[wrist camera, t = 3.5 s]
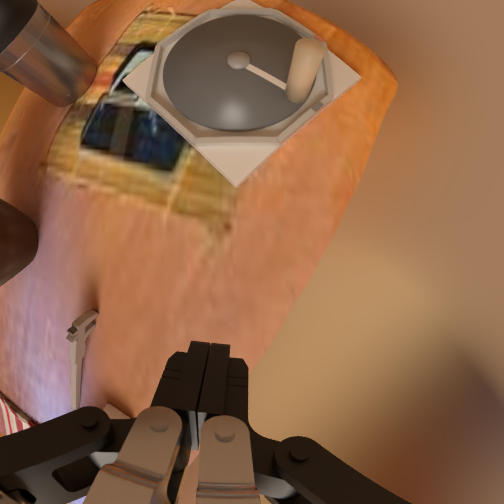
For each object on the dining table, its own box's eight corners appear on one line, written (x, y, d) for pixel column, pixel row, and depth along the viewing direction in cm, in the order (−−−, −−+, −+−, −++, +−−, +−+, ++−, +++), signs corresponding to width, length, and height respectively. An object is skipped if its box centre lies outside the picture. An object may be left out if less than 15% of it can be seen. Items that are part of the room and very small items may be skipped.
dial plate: (126, 85, 29) (117, 75, 27) (242, 2, 29) (242, -10, 26) (236, 188, 30) (235, 183, 27) (357, 82, 29) (365, 72, 26)
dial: (136, 90, 28) (102, 49, 18) (226, 5, 27) (220, -42, 17) (257, 162, 29) (260, 128, 19) (340, 60, 28) (364, 13, 18)
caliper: (94, 307, 32) (67, 320, 25) (100, 311, 32) (74, 325, 25) (74, 408, 33) (56, 426, 26) (79, 411, 33) (61, 430, 26)
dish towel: (-10, 380, 33) (-17, 383, 30) (64, 440, 34) (58, 447, 31) (0, 425, 34) (-5, 430, 31) (69, 478, 34) (65, 484, 32)
